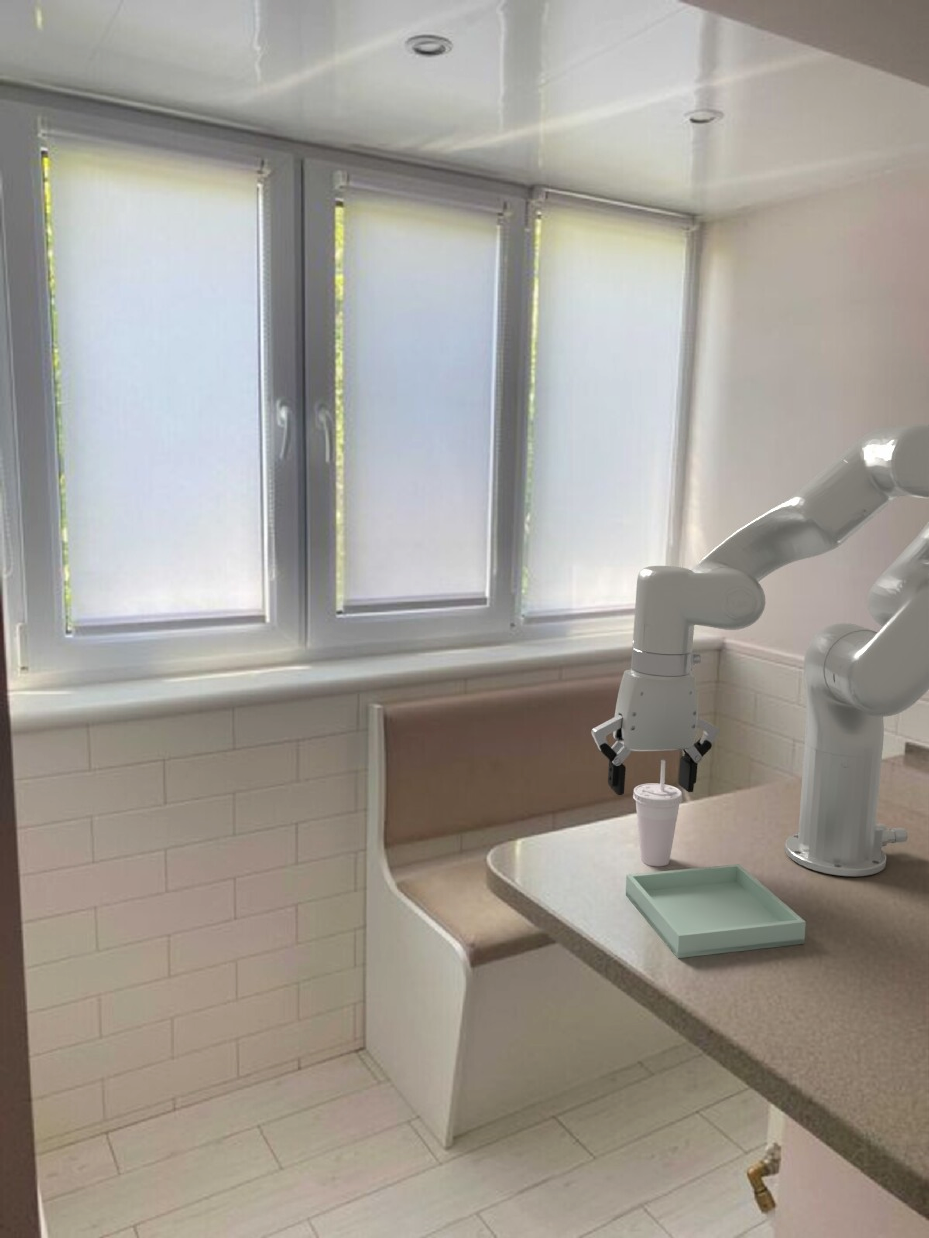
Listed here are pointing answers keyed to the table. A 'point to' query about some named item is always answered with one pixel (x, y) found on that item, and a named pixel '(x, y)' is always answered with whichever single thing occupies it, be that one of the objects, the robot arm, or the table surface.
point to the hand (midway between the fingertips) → (651, 790)
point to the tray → (713, 910)
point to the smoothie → (657, 819)
